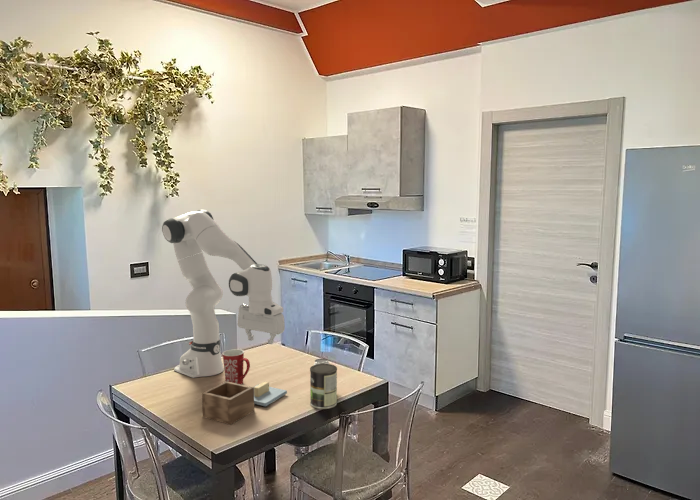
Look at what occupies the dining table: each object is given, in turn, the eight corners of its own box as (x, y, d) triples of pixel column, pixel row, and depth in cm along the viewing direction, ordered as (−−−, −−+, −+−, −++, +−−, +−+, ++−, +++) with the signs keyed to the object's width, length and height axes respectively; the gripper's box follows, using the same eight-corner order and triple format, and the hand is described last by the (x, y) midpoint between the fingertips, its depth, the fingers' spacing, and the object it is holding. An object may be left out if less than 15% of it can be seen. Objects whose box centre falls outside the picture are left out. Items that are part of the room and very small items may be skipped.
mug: (218, 384, 220) (217, 353, 218) (233, 378, 228) (232, 347, 226) (241, 390, 213) (240, 358, 212) (256, 383, 221) (255, 352, 220)
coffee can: (310, 409, 196) (310, 373, 194) (310, 398, 206) (309, 363, 204) (338, 408, 196) (338, 372, 195) (336, 397, 207) (336, 363, 205)
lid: (236, 401, 203) (235, 387, 203) (258, 389, 216) (258, 376, 215) (265, 409, 197) (265, 394, 196) (286, 395, 209) (286, 382, 208)
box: (202, 417, 189) (201, 393, 188) (226, 403, 201) (226, 381, 200) (230, 424, 183) (230, 399, 182) (254, 410, 195) (253, 387, 194)
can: (327, 392, 212) (327, 363, 210) (312, 391, 213) (311, 362, 211) (331, 386, 218) (331, 358, 216) (316, 385, 219) (316, 357, 218)
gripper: (233, 305, 204) (234, 339, 205) (277, 311, 194) (277, 348, 196) (244, 302, 209) (244, 335, 211) (286, 308, 200) (286, 343, 202)
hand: (260, 341), depth 203 cm, fingers open, 8 cm apart
